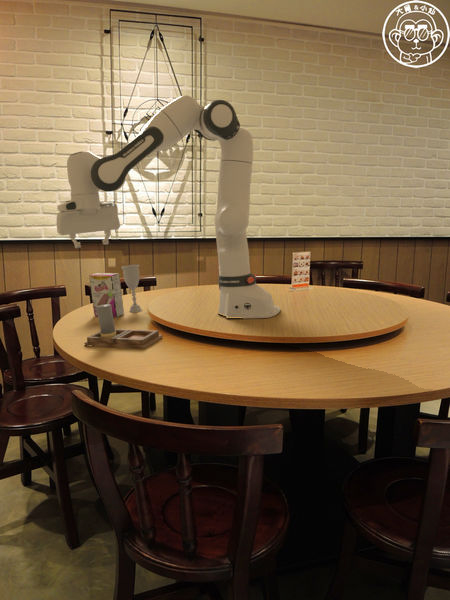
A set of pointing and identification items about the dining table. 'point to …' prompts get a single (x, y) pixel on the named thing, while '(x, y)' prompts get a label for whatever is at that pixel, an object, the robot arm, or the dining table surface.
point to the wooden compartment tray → (125, 339)
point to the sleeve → (106, 321)
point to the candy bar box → (107, 292)
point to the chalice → (132, 283)
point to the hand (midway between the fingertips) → (92, 246)
